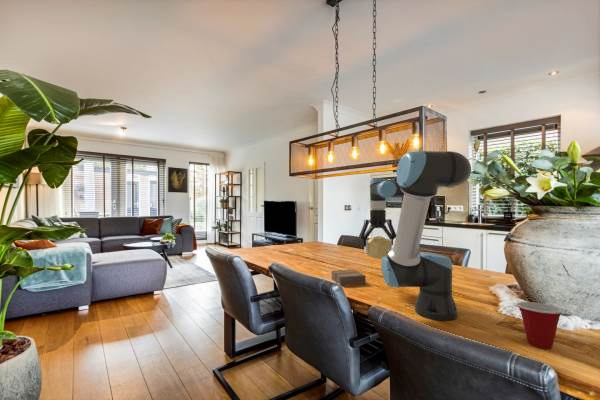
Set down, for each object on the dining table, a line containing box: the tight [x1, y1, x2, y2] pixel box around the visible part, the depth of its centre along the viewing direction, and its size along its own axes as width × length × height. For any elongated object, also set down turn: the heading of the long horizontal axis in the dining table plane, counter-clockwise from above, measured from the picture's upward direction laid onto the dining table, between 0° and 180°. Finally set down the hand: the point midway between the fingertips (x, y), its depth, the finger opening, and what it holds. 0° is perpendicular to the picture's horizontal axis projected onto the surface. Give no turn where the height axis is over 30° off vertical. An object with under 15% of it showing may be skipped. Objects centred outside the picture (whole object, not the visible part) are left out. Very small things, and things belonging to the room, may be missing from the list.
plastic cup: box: [516, 301, 563, 350], centre depth 87 cm, size 11×11×12 cm
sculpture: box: [366, 235, 391, 260], centre depth 142 cm, size 11×12×11 cm
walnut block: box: [331, 269, 367, 287], centre depth 155 cm, size 14×14×5 cm
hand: (377, 252), depth 142 cm, fingers closed on sculpture, 12 cm apart
